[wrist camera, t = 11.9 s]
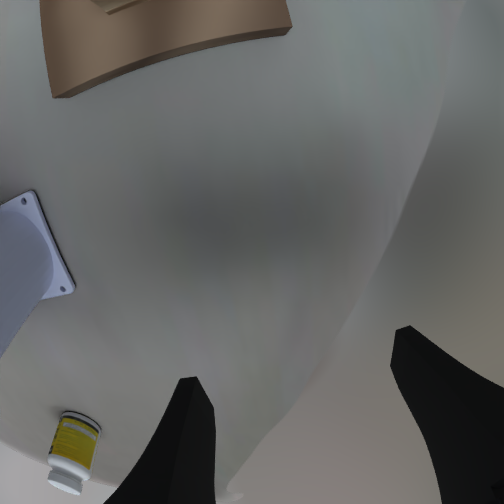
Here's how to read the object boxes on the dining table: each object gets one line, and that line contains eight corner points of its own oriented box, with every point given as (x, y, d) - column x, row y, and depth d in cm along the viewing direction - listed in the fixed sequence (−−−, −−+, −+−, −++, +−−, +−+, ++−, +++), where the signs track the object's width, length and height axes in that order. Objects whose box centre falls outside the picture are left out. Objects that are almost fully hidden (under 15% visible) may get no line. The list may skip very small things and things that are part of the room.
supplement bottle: (57, 405, 26) (35, 472, 18) (98, 418, 27) (82, 489, 19) (66, 426, 29) (49, 486, 20) (104, 437, 30) (91, 501, 21)
